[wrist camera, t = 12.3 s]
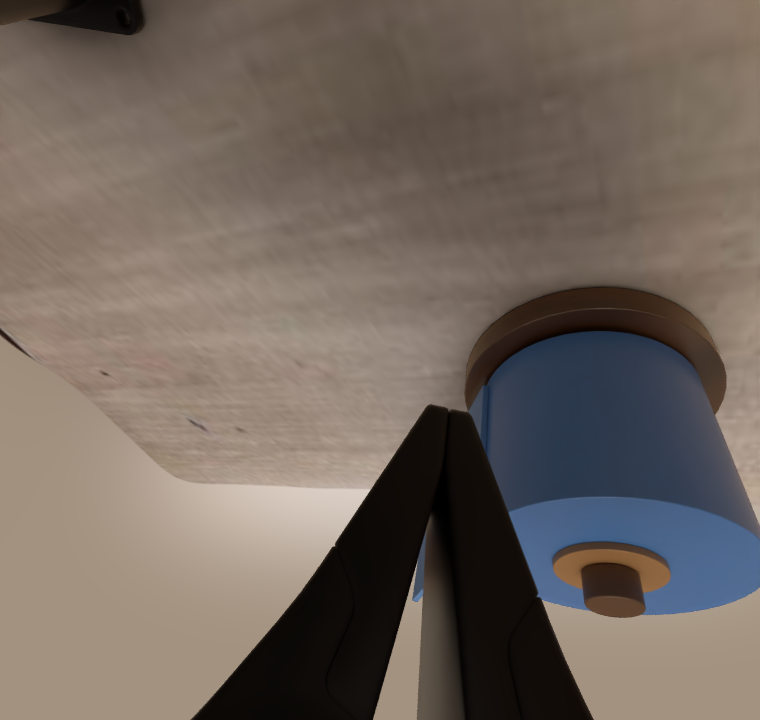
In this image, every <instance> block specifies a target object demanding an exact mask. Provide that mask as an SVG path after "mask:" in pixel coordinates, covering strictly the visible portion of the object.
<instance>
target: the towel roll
mask: <svg viewBox="0 0 760 720" xmlns="http://www.w3.org/2000/svg"><path fill="white" fill-rule="evenodd" d="M468 413H470V414H471V416H472V418H473V420H474V423H475V425H476V428H477V431H478V433H479V436H480V439H481V441H482V444H483V447H484V449H485V452H486V454H487V457H488V460H489V462H490V465H491V468H492V470H493V473H494V476H495V478H496V481H497V484H498V486H499V489H500V492H501V494H502V497H503V499H504V502H505V505H506V507H507V510H508V513H509V515H510V518H511V521H512V523H513V526H514V529H515V531H516V534H517V537H518V539H519V542H520V544H521V547H522V550H523V552H524V555H525V558H526V560H527V563H528V566H529V568H530V571H531V574H532V576H533V579H534V582H535V584H536V587H537V589H538V595H537V597H540V598H541V599H542V600H544V601H548V602H551V603H555V604H559V605H563V606H567V607H572V608H577V609H583V610H589V611H592V612H595V613H597V614H600V615H604V616H609V617H619V618H625V617H626V618H627V617H634V616H638V615H661V614H676V613H685V612H693V611H699V610H704V609H709V608H713V607H718V606H722V605H725V604H727V603H731V602H734V601H736V600H738V599H741V598H743V597H745V596H747V595H749V594H751V593H752V592H754V591H756V590H757V589H758V588H760V525H759V523H758V521H757V518H756V516H755V513H754V511H753V509H752V506H751V503H750V501H749V498H748V496H747V493H746V491H745V488H744V486H743V483H742V481H741V479H740V476H739V474H738V471H737V469H736V466H735V464H734V461H733V459H732V456H731V454H730V451H729V449H728V446H727V444H726V441H725V439H724V436H723V434H722V432H721V429H720V427H719V424H718V422H717V419H716V417H715V414H714V412H713V409H712V407H711V404H710V402H709V399H708V397H707V394H706V392H705V390H704V387H703V385H702V382H701V380H700V377H699V375H698V373H697V371H696V370H695V368H694V367H693V366H692V364H691V363H690V362H689V361H688V360H687V359H686V358H685V357H684V356H682V355H681V354H679V353H678V352H677V351H675V350H674V349H672V348H670V347H668V346H666V345H664V344H662V343H660V342H658V341H655V340H652V339H649V338H646V337H643V336H638V335H634V334H629V333H621V332H612V331H590V332H578V333H571V334H565V335H561V336H557V337H553V338H549V339H546V340H543V341H540V342H538V343H535V344H533V345H531V346H529V347H527V348H524V349H522V350H521V351H519V352H518V353H516V354H514V355H513V356H511V357H510V358H509V359H508V360H506V361H505V362H504V363H503V364H502V365H501V366H500V367H499V368H498V369H497V370H496V371H495V372H494V374H493V375H492V377H491V378H490V380H489V382H488V384H487V386H486V385H483V386H482V388H481V390H480V392H479V393H478V395H477V397H476V399H475V400H474V402H473V404H472V406H471V408H470V409H469V411H468ZM425 544H426V532H425V536H424V539H423V543H422V546H421V550H420V553H419V557H418V563H417V570H416V578H415V585H414V592H413V599H412V600H413V601H415V602H418V601H419V599H420V598H421V597H422V596H423V585H424V564H425Z"/></svg>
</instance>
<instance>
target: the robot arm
mask: <svg viewBox="0 0 760 720" xmlns="http://www.w3.org/2000/svg"><path fill="white" fill-rule="evenodd" d="M123 10H124V11H125V12H126V13H127V14H128V16H129V18H130V24H129V23H127V21H126V20H125V19H124V16H123ZM26 19H27V20H34V21H40V22H46V23H53V24H59V25H65V26H72V27H78V28H85V29H91V30H97V31H104V32H110V33H116V34H123V35H133V34H136V33H139V32H140V31H141V30H142V27H143V17H142V13H141V9H140V4H139V0H0V25H4V24H9V23H13V22H18V21H22V20H26ZM425 532H426V544H425V564H424V585H423V607H422V626H421V627H422V628H421V647H420V668H419V689H418V710H417V720H594V719H593V717H592V715H591V713H590V711H589V709H588V707H587V705H586V703H585V701H584V699H583V697H582V695H581V692H580V690H579V688H578V686H577V684H576V682H575V679H574V677H573V675H572V673H571V671H570V669H569V666H568V664H567V662H566V660H565V658H564V655H563V653H562V650H561V648H560V645H559V643H558V640H557V638H556V636H555V633H554V631H553V628H552V626H551V623H550V621H549V618H548V615H547V613H546V610H545V607H544V605H543V602H542V599H541V598H540V597H537V595H538V589H537V587H536V584H535V582H534V579H533V576H532V574H531V571H530V568H529V566H528V563H527V560H526V558H525V555H524V552H523V550H522V547H521V544H520V542H519V539H518V537H517V534H516V531H515V529H514V526H513V523H512V521H511V518H510V515H509V513H508V510H507V507H506V505H505V502H504V499H503V497H502V494H501V492H500V489H499V486H498V484H497V481H496V478H495V476H494V473H493V470H492V468H491V465H490V462H489V460H488V457H487V454H486V452H485V449H484V447H483V444H482V441H481V439H480V436H479V433H478V431H477V428H476V425H475V423H474V420H473V418H472V416H471V414H470V413H468V412H464V411H459V410H455V409H451V410H450V411H448V409H447V408H445V407H441V406H436V405H432V404H430V405H428V406H427V407H426V408H425V410H424V411H423V413H422V414H421V416H420V417H419V419H418V420H417V421H416V423H415V424H414V426H413V427H412V429H411V430H410V432H409V433H408V435H407V436H406V438H405V439H404V441H403V442H402V444H401V445H400V447H399V448H398V450H397V451H396V453H395V454H394V456H393V457H392V459H391V460H390V462H389V463H388V465H387V466H386V468H385V469H384V471H383V472H382V474H381V475H380V477H379V478H378V480H377V481H376V483H375V484H374V486H373V487H372V489H371V490H370V492H369V493H368V495H367V496H366V498H365V499H364V501H363V502H362V504H361V505H360V507H359V508H358V510H357V511H356V513H355V514H354V516H353V517H352V519H351V520H350V522H349V523H348V525H347V526H346V528H345V529H344V531H343V532H342V534H341V535H340V537H339V538H338V540H337V541H336V543H335V546H334V547H332V548H331V550H330V551H329V553H328V554H327V556H326V557H325V559H324V560H323V562H322V563H321V565H320V566H319V567H318V569H317V570H316V572H315V573H314V575H313V576H312V577H311V579H310V580H309V581H308V583H307V584H306V586H305V587H304V588H303V590H302V591H301V593H300V594H299V595H298V596H297V597H296V599H295V600H294V601H293V602H292V604H291V605H290V606H289V608H288V609H287V610H286V611H285V612H284V614H283V615H282V616H281V617H280V618H279V620H278V621H277V622H276V623H275V625H274V626H273V627H272V628H271V629H270V630H269V632H268V633H267V634H266V635H265V636H264V637H263V639H262V640H261V641H260V642H259V643H258V644H257V646H256V647H255V648H254V649H253V650H252V651H251V653H250V654H249V655H248V656H247V657H246V658H245V659H244V661H243V662H242V663H241V664H240V665H239V666H238V668H237V669H236V670H235V671H234V672H233V674H232V675H231V676H230V677H229V678H228V679H227V680H226V681H225V683H224V684H223V685H222V686H221V687H220V688H219V690H218V691H217V692H216V693H215V694H214V695H213V696H212V697H211V699H210V700H209V701H208V702H207V703H206V704H205V705H204V706H203V707H202V709H200V710H199V712H198V713H197V714H196V715H195V716H194V717H193V718H192V719H191V720H373V717H374V714H375V710H376V707H377V703H378V700H379V696H380V692H381V689H382V685H383V682H384V678H385V675H386V671H387V667H388V664H389V660H390V656H391V653H392V649H393V646H394V642H395V639H396V635H397V631H398V628H399V625H400V621H401V618H402V614H403V610H404V607H405V603H406V600H407V596H408V593H409V589H410V585H411V582H412V578H413V575H414V571H415V568H416V564H417V560H418V557H419V553H420V550H421V546H422V543H423V539H424V536H425Z"/></svg>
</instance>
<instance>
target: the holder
mask: <svg viewBox="0 0 760 720" xmlns="http://www.w3.org/2000/svg"><path fill="white" fill-rule="evenodd" d="M590 331H612V332H621V333H629V334H634V335H638V336H643V337H646V338H649V339H652V340H655V341H658V342H660V343H662V344H664V345H666V346H668V347H670V348H672V349H674V350H675V351H677V352H678V353H679V354H681V355H682V356H684V357H685V358H686V359H687V360H688V361H689V362H690V363H691V364H692V366H693V367H694V368H695V370H696V371H697V373H698V375H699V377H700V380H701V382H702V385H703V387H704V390H705V392H706V394H707V397H708V399H709V402H710V404H711V407H712V409H713V412H714V414H716V412H717V411H718V409H719V407H720V405H721V403H722V401H723V399H724V395H725V391H726V372H725V368H724V364H723V362H722V359H721V357H720V355H719V353H718V351H717V349H716V347H715V344H714V342H713V340H712V338H711V336H710V334H709V332H708V331H707V330H706V328H705V327H704V326H703V325H702V323H701V322H700V321H699V320H698V319H696V318H695V317H694V316H693V315H692V314H691V313H690V312H688V311H686V310H685V309H683V308H682V307H680V306H678V305H677V304H675V303H673V302H670V301H668V300H666V299H663V298H661V297H658V296H655V295H652V294H648V293H645V292H640V291H634V290H629V289H620V288H584V289H577V290H569V291H564V292H560V293H556V294H551V295H548V296H545V297H542V298H539V299H536V300H533V301H531V302H529V303H526V304H524V305H522V306H520V307H518V308H516V309H514V310H513V311H511V312H509V313H508V314H506V315H504V316H503V317H502V318H500V319H499V320H498V321H497V322H495V323H494V324H493V325H492V326H491V327H490V328H489V329H488V330H487V331H486V332H485V333H484V334H483V335H482V336H481V338H480V339H479V341H478V342H477V343H476V345H475V347H474V349H473V351H472V353H471V355H470V358H469V361H468V364H467V373H466V384H465V402H466V406H467V409H468V411H469V409H470V408H471V406H472V404H473V402H474V400H475V399H476V397H477V395H478V393H479V392H480V390H481V388H482V386H483V385H486V386H487V384H488V382H489V380H490V378H491V377H492V375H493V374H494V372H495V371H496V370H497V369H498V368H499V367H500V366H501V365H502V364H503V363H504V362H505V361H506V360H508V359H509V358H510V357H511V356H513V355H514V354H516V353H518V352H519V351H521V350H522V349H524V348H527V347H529V346H531V345H533V344H535V343H538V342H540V341H543V340H546V339H549V338H553V337H557V336H561V335H565V334H571V333H578V332H590Z"/></svg>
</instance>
